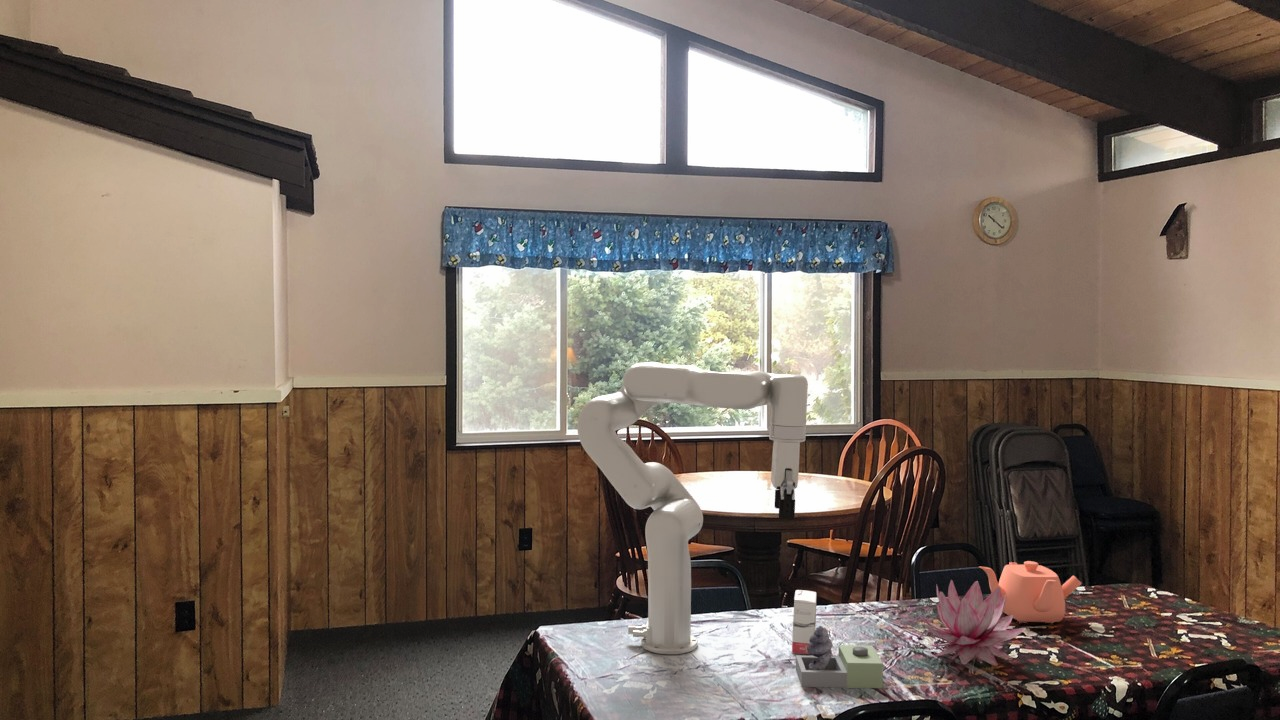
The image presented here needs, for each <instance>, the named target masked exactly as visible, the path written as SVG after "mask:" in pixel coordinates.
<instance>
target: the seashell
mask: <svg viewBox="0 0 1280 720" xmlns="http://www.w3.org/2000/svg"><path fill="white" fill-rule="evenodd" d="M828 632H829V631H828V630H827V628H826V627H823V626H822V625H819V626H818V627H815V631H814V634H813V635H812V636H811V637H810V640H809V641H810V644H809V645H808V647H807V650H808V653H809V654H808V655H810V656H815V657H818V659H817V661H815V660H813V663H811V664H809V669H810V670H824V669H825V668H826V666H827V664H828V662H829V661H830V659H831V656H833V652H832V648H833V642H832V640H831V638H830V634H829V633H828Z"/></svg>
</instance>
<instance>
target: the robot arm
mask: <svg viewBox="0 0 1280 720" xmlns="http://www.w3.org/2000/svg"><path fill="white" fill-rule="evenodd" d="M808 387H809V386H808V379H807V378H806V377H805V376H804V375H801V374H792V373H786V374H785V373H781V374H776V373H770V372H767V371H761V370H755V371H753V370H752V371H748V372H741V373H740V372H739V373H737V372H735V373H734V372H722V371H719V372H718V371H709V370H704V369H701V368H700V367H698V366H695V365H688V364H687V365H685V364H684V365H683V364H667V363H666V364H665V363H661V362H658V361H645V362H639V363H635V364H633V365H631V366H630V367H629V368H627V370H626V371H625V372H624V375H623V378H622V387H620V388H619V389H618V390H617V391H615V392H614V393H609V394H604V395H599V396H596V397H594V398H592V399H590V400H588V401H587V402H586V403H585V405H584V406H583V407H582V408H581V410H580V413H579V416H578V418H577V425H576V426H577V427H576V429H577V435H578V439H579V442H580V444H581V446H582V449H583V450H584V451H585V452H586V453H587V455H588V457H590V458H591V460H592V461H593V462H594V463H595V464H596V465H597V467H598V468H599V470H600V471H601V472H602V474H603V475H604V476H605V477H606V479H607V480H608V481H609V483H610V484H611V486H612V487H614V489H615V490H616V491H617V493H618V494H619V495H620V496H621V498H622V499H623V500H624V502H625V503H626V504H627V505H628V506H630V508H632V509H635V510H644V509H648V508H649V507H650V508H652V510H653V511H652V513H650V515H649V516H648V518H647V520H646V523H645V529H644V531H645V532H644V533H645V542H646V551H647V566H648V567H647V576H648V577H647V578H648V581H647V583H648V585H647V586H648V589H647V590H648V593H647V595H648V598H647V599H648V600H647V601H648V602H647V603H648V604H647V605H648V608H647V609H648V610H647V611H648V612H647V618H648V619H647V620H646V624H645V623H643V624H642V625H631V624H629V625H628V627H627V628H628V629H627V630H628V632H627V633H628V635H632V638H641V641H640V642H641V643H640V644H641V645H640V646H641V647H642V648H643V649H645V650H646V651H648V652H651V653H655V654H660V655H680V654H681V655H682V654H687V653H690V652H692V651H694V650H695V649H696V648H697V647H698V638H697V637H695V636H694V635H693V634H692V633H691V630H692V629H691V628H692V626H691V623H692V622H691V621H692V620H691V617H692V616H691V614H692V613H691V612H692V610H691V609H692V606H691V605H692V604H691V602H692V565H691V564H692V562H691V556H690V549H689V540H691V539H692V538H693V537H695V536H696V535H697V534H698V533H699V532H700V531H701V529H702V528H703V523H704V514H703V511H702V509H701V507H700V506H699V504H698V502H697V501H696V500H695V498H694V497H693V496H692V495H691V494H690V492H689V491H688V489H686V487H685V486H684V485H683V484H682V483H681V481H680V480H679V479H678V478H677V476H676V475H675V474H674V473H673V472H672V470H671V469H670V468H668V467H667V466H665V465H663V464H662V463H659V462H656V461H655V462H654V461H652V462H646V463H645V462H643V460H642V459H641V458H640V457H639V456H638V455H637V454H636V452H635V451H634V450H633V449H632V447H631V446H630V445H629V444H628V443H627V442H626V441H624V439H622V438H621V437H620V436H619V435H618V434H617V432H616V431H619V430H622V429H626V428H629V427H630V426H632V425H634V424H635V423H636V422H637V421H638V420H639V419H640V418H642V417H643V416H644V415H645V414H646V413H647V412H649V410H650V409H652V408H653V407H654V406H656V404H658V403H666V404H667V403H669V404H679V405H680V404H681V405H692V406H696V407H697V406H701V407H708V408H718V409H733V410H752V409H755V408H758V407H762V406H770V411H769V412H770V413H769V416H770V417H769V437H768V438H769V440H771V441H773V444H772V454H771V455H772V456H771V457H772V458H771V472H770V482H771V485H772V486H773V488H774V489H775V492H774V508H775V509H778V518H779V519H780V520H781V519H782V520H794V519H795V516H796V512H795V510H796V507H795V506H796V500H795V498H796V496H795V495H796V494H795V489H797V488H798V483H799V471H800V470H799V469H800V448H801V443H803V442H806V435H807V434H806V432H807V430H806V429H807V412H808V410H807V409H808V407H807V406H808Z"/></svg>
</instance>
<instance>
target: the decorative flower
mask: <svg viewBox="0 0 1280 720" xmlns="http://www.w3.org/2000/svg"><path fill="white" fill-rule="evenodd" d="M935 586H936V597H937V600H938V604H936V609H937V613H938V614H937V616H938V618H940V620H941V623H943V625H944V626H945V627H946V628H947V629H949V630H945V629H943V628H942V627H940V626H938V625H936V624H934V623H932V622H930V621H928V620H927V619H926V618H924V617H923V616H921V614H919V613H918V612H917V613H916V614H917V615H918V616H919V618H920V619H921V620H922V621H923V622H924V623H926V624H927V625H924V626H925V628H926V629H927V630H928V631H929V632H930V633H932V634H933V635H935V636H937V637H939V638H941V639H944V640H946V641H947V642H945V643H940V644H930V643H929V644H927V645H928V646H931V647H935V648H936V647H939V648H940V647H946V646H948V647H947V648H945V649H944V650H943V651H941V652H939V653H937V654H934V656H935V657H939V656H940V657H942V656H947V655H951V654H953V653H954V654H953V656H952V658H953V659H955V658H957V657H959V660H960V662H961V664H962V665H967V664H968V663H969V662H970V661H971V660H972V659H973V658H975V659H976V660H977V662H983V661H984V662H986V663H988V664H990V665H992V666H998V662H997V660H996V658H995V657H999V658H1003V659H1013V657H1012V656H1011V655H1009V654H1007V652H1004V651H1003V650H1001V649H1002V648H1003V645H998V644H1000V643H1003V642H1006V641H1009V640H1011V639H1014V638H1016V637H1017V636H1019V635H1020V634H1022V633H1023V632H1024V631H1025V630H1027V629H1026V628H1027V627H1022V628H1013V629H1012V628H1011V629H1008V628H1009V627H1010V624H1011V623H1012V620H1013V619H1014V618H1013V615H1009V616H1008V615H1006V616H1003V617H1001V616H1002V615H1003V613H1004V612H1003V610H1004V607H1005V601H1006V594H1005V596H1004V597H1003V599H1002V600H1001V589H1000V587H997V588H996V589H995V590H994V591H993V592H992V593H991V592H990V593H989V595H988V596H987V597H986V598H985V599H984V598H983V593H982V589H981V586H980V583H979V581H978V580H976V581H974V582H973V583H972V585H971V586H970V588H969V589H968V590H967V592H966V594H965V595H964V597H962V598H961V600H960V598H959V596H958V592H957V590H956V587H955V584H954V581H953V580H952V579H950V582H949V584H948V591H947V596H946V595H945V593H944V592H943V591H939V586H938V584H936V585H935ZM984 662H983V663H984Z"/></svg>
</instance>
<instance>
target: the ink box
mask: <svg viewBox="0 0 1280 720" xmlns="http://www.w3.org/2000/svg"><path fill="white" fill-rule="evenodd" d="M793 600H794V601H793V602H794V603H793V614H792V615H793V618H792V638H791V639H792V640H791V644H792V645H791V654H797V655H798V654H799V655H800V654H801V655H802V654H803V655H810V654H809V653H808V650H807V647H808V645H809V644H810V641H809V640H810V637H811V636H812V635H813V634H814V631H815V630H816V628H817V627H816V625H817V624H816V623H817V621H816V620H817V592H816V591H813V590H808V589H807V590H806V589H805V590H803V589H796V590H795V592H794V597H793Z"/></svg>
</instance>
